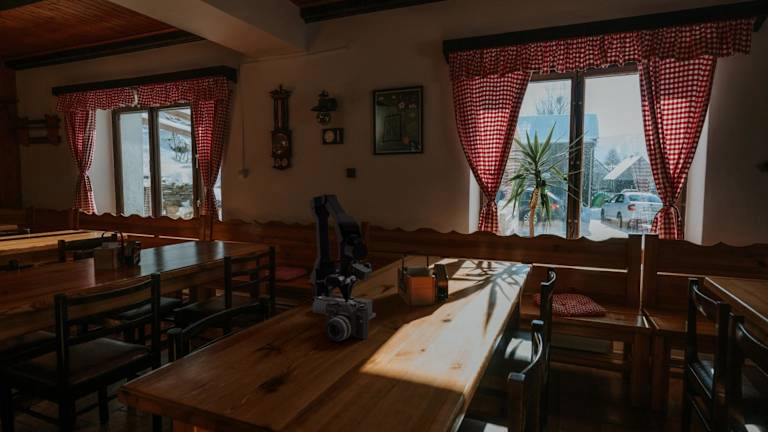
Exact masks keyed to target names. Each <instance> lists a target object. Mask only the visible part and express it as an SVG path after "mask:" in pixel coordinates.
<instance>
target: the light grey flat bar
mask: <svg viewBox="0 0 768 432" xmlns="http://www.w3.org/2000/svg"><path fill="white" fill-rule="evenodd" d="M319 299H323V300H329V301H335V302H338V301H337V300H340V302H345V303H347V302H350V301H351V302H352V303H354V302H353V300H349V301H345V299H339V298H332V297H325V296H323V297H320V298H319Z"/></svg>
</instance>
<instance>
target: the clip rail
mask: <svg viewBox="0 0 768 432" xmlns="http://www.w3.org/2000/svg"><path fill="white" fill-rule="evenodd" d="M376 316H377V313H376V312H372V313H371V314H369V315H368V321H369V320H372V319H373V318H375V317H376Z"/></svg>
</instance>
